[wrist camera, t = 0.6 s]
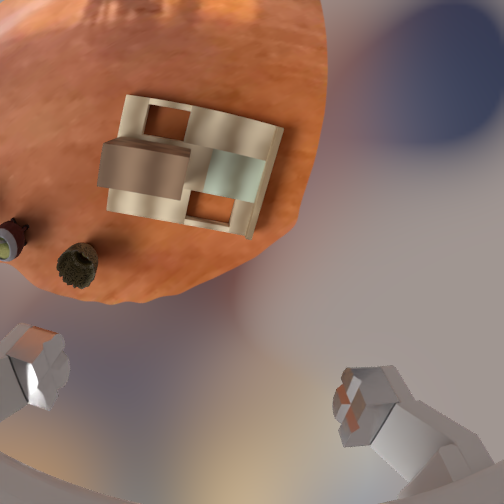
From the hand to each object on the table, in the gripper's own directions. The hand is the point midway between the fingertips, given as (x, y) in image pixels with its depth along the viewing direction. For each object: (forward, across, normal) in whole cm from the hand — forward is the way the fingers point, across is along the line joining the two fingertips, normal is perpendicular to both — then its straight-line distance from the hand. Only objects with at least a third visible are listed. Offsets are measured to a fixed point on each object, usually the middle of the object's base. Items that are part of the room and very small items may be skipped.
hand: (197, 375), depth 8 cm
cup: (+46, +27, +15) cm, 55 cm away
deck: (+47, +8, -2) cm, 47 cm away
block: (+44, +14, -2) cm, 46 cm away
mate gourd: (+43, +43, +12) cm, 62 cm away
